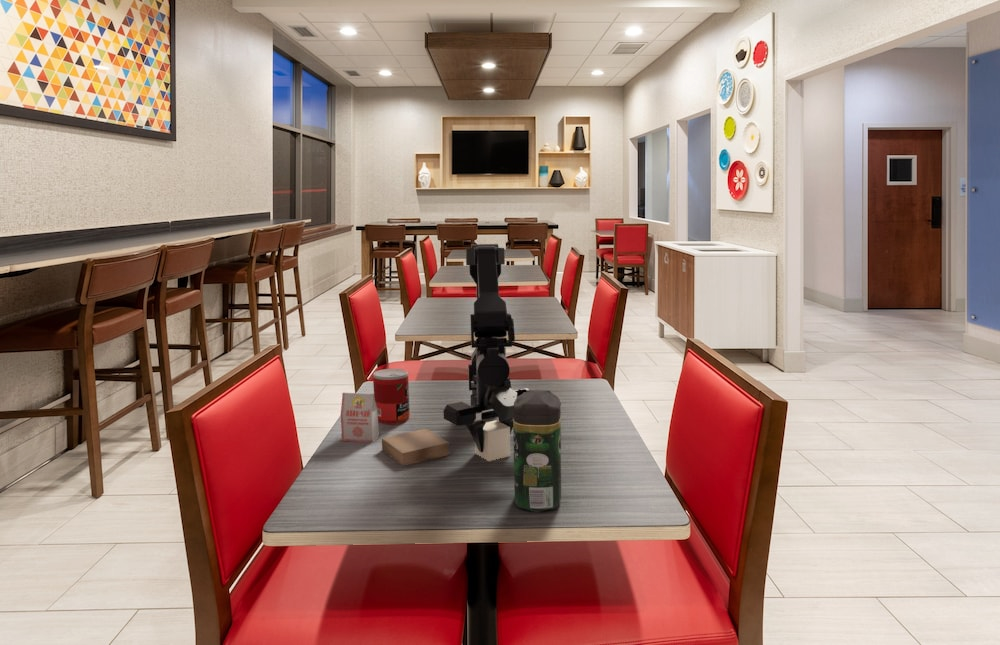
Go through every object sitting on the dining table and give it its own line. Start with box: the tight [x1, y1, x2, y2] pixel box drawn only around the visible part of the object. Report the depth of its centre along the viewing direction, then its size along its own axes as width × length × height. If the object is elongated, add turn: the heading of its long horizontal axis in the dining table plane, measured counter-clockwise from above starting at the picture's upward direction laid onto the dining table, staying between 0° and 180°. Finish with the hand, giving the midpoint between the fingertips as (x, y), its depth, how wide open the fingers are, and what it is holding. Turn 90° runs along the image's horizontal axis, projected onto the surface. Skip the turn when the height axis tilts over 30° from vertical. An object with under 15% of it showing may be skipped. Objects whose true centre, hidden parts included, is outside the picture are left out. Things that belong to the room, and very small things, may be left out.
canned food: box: [372, 368, 411, 425], centre depth 161 cm, size 8×8×11 cm
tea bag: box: [340, 392, 380, 443], centre depth 149 cm, size 4×7×10 cm, turn 81°
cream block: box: [474, 419, 511, 462], centre depth 139 cm, size 5×5×6 cm
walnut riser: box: [381, 428, 450, 467], centre depth 141 cm, size 10×10×3 cm
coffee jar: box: [512, 389, 562, 512], centre depth 117 cm, size 10×8×19 cm
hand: (492, 448), depth 139 cm, fingers closed on cream block, 5 cm apart
